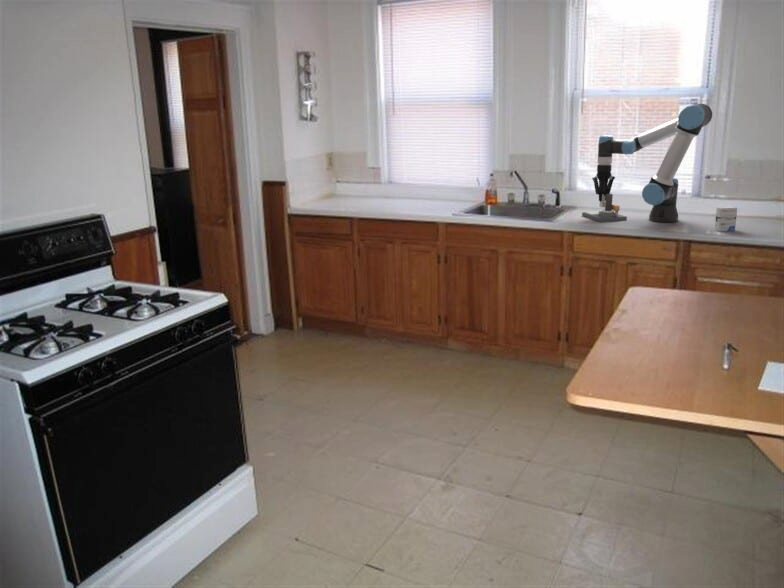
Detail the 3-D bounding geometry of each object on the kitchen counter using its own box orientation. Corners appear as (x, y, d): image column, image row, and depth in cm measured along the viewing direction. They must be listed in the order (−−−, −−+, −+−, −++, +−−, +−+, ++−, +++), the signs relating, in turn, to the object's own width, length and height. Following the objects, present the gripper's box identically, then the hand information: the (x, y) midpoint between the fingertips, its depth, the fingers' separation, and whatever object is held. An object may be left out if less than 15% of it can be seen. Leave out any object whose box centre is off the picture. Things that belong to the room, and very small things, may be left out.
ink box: (730, 229, 362) (733, 206, 359) (735, 231, 358) (738, 207, 354) (713, 229, 362) (716, 206, 359) (718, 231, 357) (721, 208, 354)
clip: (620, 210, 388) (620, 206, 387) (615, 211, 387) (616, 206, 387) (603, 205, 404) (604, 201, 403) (599, 206, 403) (599, 201, 403)
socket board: (626, 220, 390) (627, 211, 388) (600, 222, 386) (600, 212, 385) (607, 214, 408) (607, 205, 407) (582, 215, 405) (582, 207, 403)
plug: (615, 216, 391) (617, 194, 387) (605, 216, 390) (607, 195, 386) (609, 214, 396) (611, 193, 393) (600, 215, 395) (601, 193, 392)
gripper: (611, 163, 394) (608, 205, 401) (590, 164, 391) (588, 206, 398) (618, 164, 387) (616, 207, 394) (597, 165, 384) (594, 208, 391)
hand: (601, 206), depth 396 cm, fingers closed
